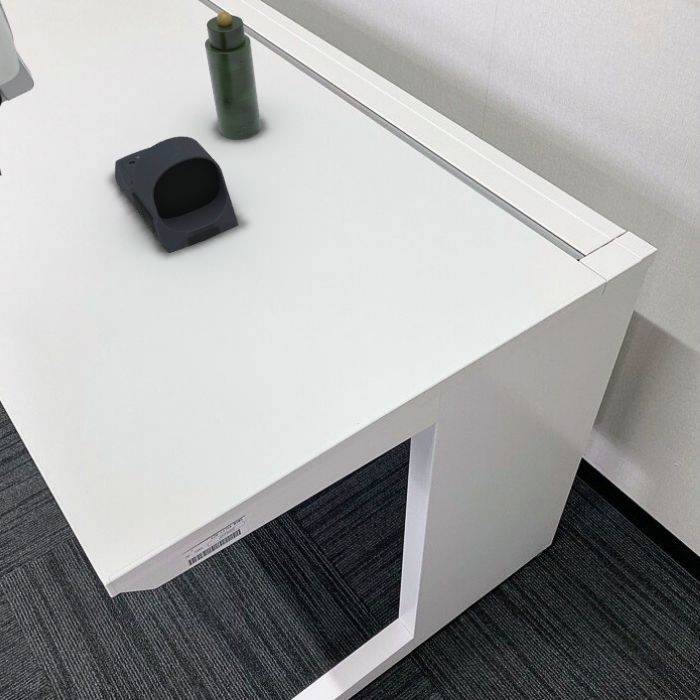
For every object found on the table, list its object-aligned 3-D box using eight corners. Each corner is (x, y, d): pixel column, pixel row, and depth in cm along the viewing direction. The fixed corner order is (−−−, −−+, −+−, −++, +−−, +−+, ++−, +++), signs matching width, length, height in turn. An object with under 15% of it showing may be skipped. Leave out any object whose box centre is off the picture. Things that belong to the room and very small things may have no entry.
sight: (176, 152, 100) (160, 81, 92) (239, 226, 89) (227, 152, 82) (108, 175, 96) (86, 104, 89) (166, 255, 86) (147, 181, 79)
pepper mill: (226, 143, 101) (207, 26, 89) (214, 122, 104) (194, 7, 92) (266, 133, 102) (253, 17, 90) (253, 112, 106) (238, -2, 94)
